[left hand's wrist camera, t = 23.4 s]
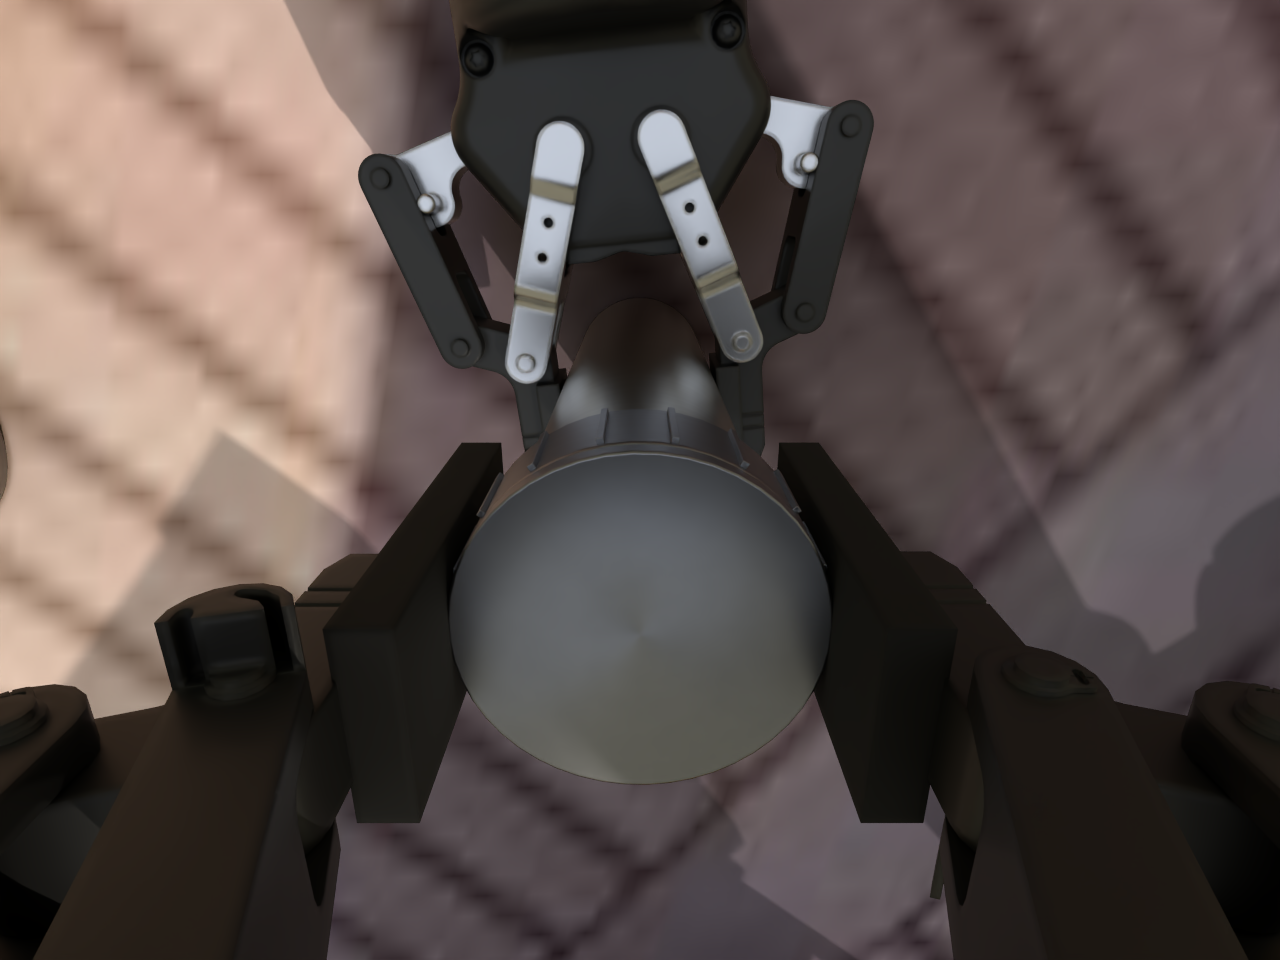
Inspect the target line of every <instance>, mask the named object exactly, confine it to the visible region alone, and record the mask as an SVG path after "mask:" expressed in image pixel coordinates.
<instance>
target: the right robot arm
mask: <svg viewBox="0 0 1280 960" xmlns="http://www.w3.org/2000/svg"><path fill="white" fill-rule="evenodd" d="M449 4H450V10H451V16H452V22H453V28H454V34H455V40H456V47H457V53H458V59H459V65H460V88H459V94H458V99H457V103H456V106H455V109H454V111H453V115H452V119H451V132H448V133H446V134H444V135H441V136H439V137H437V138H435V139H432V140H430V141H428V142H425V143H423V144H421V145H419V146H416V147H414V148H412V149H409V150H407V151H405V152H403V153H400V154H398V155H390V154H373V155H370V156H368V157H367V158H365V159H364V160H363V162H362V163H361V165H360V167H359V171H358V179H359V184H360V186H361V188H362V191H363V193H364V195H365V197H366V199H367V201H368V203H369V205H370V207H371V209H372V211H373V213H374V216H375V218H376V220H377V222H378V224H379V226H380V228H381V230H382V232H383V234H384V236H385V238H386V240H387V243H388V245H389V247H390V249H391V251H392V253H393V255H394V257H395V259H396V261H397V263H398V265H399V268H400V270H401V272H402V274H403V276H404V278H405V280H406V282H407V284H408V286H409V288H410V290H411V293H412V295H413V297H414V299H415V301H416V303H417V305H418V307H419V309H420V311H421V313H422V315H423V318H424V320H425V322H426V324H427V326H428V328H429V330H430V332H431V334H432V336H433V338H434V340H435V343H436V345H437V347H438V349H439V351H440V353H441V355H442V357H443V358H444V360H445V361H446V362H447V363H448V364H450V365H451V366H453V367H455V368H460V369H465V368H469V367H472V366H474V367H478V368H482V369H486V370H490V371H494V372H497V373H499V374H501V375H503V376H504V377H505V378H507V379H508V380H509V382H510V383H511V384H512V386H513V388H514V391H515V395H516V401H517V407H518V413H519V419H520V426H521V432H522V436H523V444H524V448H525V452H526V451H527V450H528V449H529V448H530V447H531V446H533V445H534V444H536V443H537V442H538V439H539V437H540V435H541V433H543V432H545V429H546V427H547V424H548V422H549V420H550V417H551V415H552V413H553V410H554V408H555V405H556V403H557V401H558V398H559V396H560V393H561V391H562V389H563V386H564V384H565V382H566V379H567V372H566V368H562V369H559V368H558V360H557V353H556V347H557V342H558V337H559V331H560V326H561V321H562V316H563V310H564V305H565V300H566V296H567V293H568V289H569V284H570V279H571V274H572V269H573V264H578V263H587V262H596V261H598V260H601V259H603V258H606V257H608V256H611V255H614V254H616V253H619V252H621V251H628V252H634V253H639V254H645V255H651V256H655V255H665V254H674V253H680V255H681V258H682V260H683V263H684V265H685V268H686V270H687V272H688V275H689V277H690V279H691V282H692V284H693V286H694V288H695V291H696V293H697V296H698V298H699V300H700V303H701V305H702V308H703V310H704V313H705V315H706V317H707V320H708V322H709V325H710V327H711V330H712V332H713V334H714V337H715V351H716V353H709V363H710V371H711V374H712V376H713V378H714V381H715V383H716V386H717V388H718V390H719V393H720V395H721V397H722V400H723V402H724V404H725V407H726V409H727V412H728V414H729V416H730V419H731V421H732V423H733V426H734V428H735V430H736V433H737V435H738V437H739V439H740V440H741V441H743V442H744V443H745V444H746V445H748V446H749V447H750V448H751V449H753V450H754V451H755V452H756V453H758V454H759V456H760V457H761V454H762V451H763V448H764V446H765V435H764V415H763V412H764V411H763V387H762V363H763V360H764V357H765V355H766V353H767V352H768V351H769V350H770V349H771V348H772V347H773V346H774V345H776V344H777V343H779V342H781V341H784V340H786V339H788V338H790V337H792V336H794V335H796V334H798V333H800V334H806V333H810V332H813V331H815V330H816V329H817V328H819V327H820V326H821V324H822V323H823V321H824V319H825V316H826V312H827V308H828V305H829V301H830V297H831V293H832V289H833V285H834V281H835V277H836V273H837V269H838V265H839V261H840V257H841V253H842V250H843V246H844V242H845V238H846V234H847V230H848V226H849V222H850V218H851V214H852V210H853V206H854V202H855V199H856V195H857V191H858V187H859V183H860V179H861V175H862V171H863V167H864V163H865V159H866V155H867V151H868V147H869V144H870V140H871V136H872V132H873V127H874V120H873V115H872V113H871V111H870V109H869V108H868V107H867V106H866V105H865V104H864V103H862V102H860V101H857V100H848V101H845V102H842V103H840V104H838V105H836V106H834V107H826V106H821V105H816V104H810V103H805V102H800V101H795V100H789V99H784V98H779V97H774V96H770V91H769V87H768V84H767V82H766V80H765V78H764V76H763V75H762V73H761V71H760V70H759V68H758V66H757V64H756V62H755V59H754V57H753V54H752V50H751V47H750V42H749V36H748V23H747V0H449ZM761 137H762V138H764V139H766V140H768V141H769V142H770V143H771V144H772V146H773V147H774V149H775V152H776V158H777V160H776V172H777V176H778V178H779V180H780V181H781V182H782V183H783V184H784V185H785V186H787V187H789V188H793V189H794V192H793V196H792V201H791V205H790V209H789V214H788V218H787V223H786V227H785V232H784V236H783V240H782V245H781V249H780V254H779V258H778V263H777V267H776V271H775V276H774V280H773V285H772V289H771V292H769V293H767V294H765V295H763V296H760V297H758V298H756V299H754V300H752V301H749V299H748V296H747V294H746V291H745V288H744V286H743V283H742V281H741V278H740V274H739V270H738V266H737V264H736V261H735V258H734V256H733V253H732V251H731V248H730V245H729V243H728V240H727V238H726V235H725V232H724V230H723V227H722V225H721V222H720V220H719V217H718V214H717V212H718V210H719V208H720V207H721V205H722V203H723V201H724V200H725V198H726V196H727V195H728V193H729V191H730V189H731V188H732V186H733V184H734V182H735V181H736V179H737V177H738V176H739V174H740V172H741V170H742V169H743V167H744V165H745V164H746V162H747V160H748V158H749V157H750V155H751V153H752V152H753V150H754V148H755V146H756V145H757V143H758V141H759V140H760V138H761ZM467 170H470V172H471V173H472V174H473V175H474V176H475V177H476V178H477V179H478V180H479V182H480V183H481V184H482V185H483V186H484V187H485V188H486V189H487V191H488V192H489V193H490V194H491V195H492V196H493V197H494V198H495V199H496V201H497V202H498V203H499V204H500V205H501V206H502V207H503V208H504V210H505V211H506V212H507V213H508V214H509V215H510V216H511V217H512V218H513V220H514V221H515V222H516V223H517V224H518V225H519V226H520V227H521V229H522V230H523V237H522V243H521V249H520V255H519V261H518V267H517V273H516V280H515V286H514V308H513V314H512V320H511V325H510V324H506V323H502V322H498V321H495V320H492V318H491V316H490V313H489V311H488V309H487V307H486V304H485V302H484V300H483V298H482V295H481V293H480V291H479V289H478V287H477V284H476V282H475V280H474V278H473V275H472V273H471V271H470V269H469V266H468V264H467V262H466V260H465V258H464V255H463V253H462V251H461V249H460V246H459V244H458V242H457V240H456V237H455V235H454V233H453V231H452V228H451V226H450V225H451V224H453V223H454V222H456V221H457V219H458V218H459V217H460V215H461V212H462V200H461V196H460V192H459V184H460V180H461V178H462V176H463V175H464V173H465V172H466V171H467ZM7 467H8V466H7V454H6V448H5V444H4V440H3V437H2V433H1V431H0V500H1V498H2V495H3V492H4V489H5V486H6V480H7Z"/></svg>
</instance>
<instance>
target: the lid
mask: <svg viewBox="0 0 1280 960" xmlns="http://www.w3.org/2000/svg"><path fill="white" fill-rule="evenodd" d="M800 512H801V509H800V507H799V505H798V504H797V502H796V500H795V498H794V496H793V494H792V492H791V490H790V488H789V486H788V485H787V483H786V481H785V479H784V477H783V475H782V473H781V472H780V471H779V469H777V470H776V471H773V470H772V468H771V467H770V466H769V465H768V464H767V463H766V462H765V461H764V460H763V459H762V458H761V457H760V456H759V454H758V453H756V452H755V451H754V450H753V449H751V448H750V447H749V446H748V445H746V444H745V443H744V442H743V441H741V440H740V439H739V437H738V435H737V433H736V431H734V430H733V429H731V428H730V430H729V431H728V432H727V431H725V430H724V429H722V428H719V427H717V426H715V425H713V424H710V423H708V422H706V421H704V420H701V419H698V418H694V417H691V416H687V415H684V414H681V413H676V412H675V408H672V407H668V409H667V411H662V410H650V409H629V410H619V411H610V412H609V410H608V408H603V409H601V413H600V414H597V415H593V416H589V417H586V418H583V419H580V420H578V421H575V422H572V423H570V424H567V425H565V426H563V427H561V428H560V429H558V430H556V431H554V432H552V433H550V434H548V432H547V431H545V432H543V433H541V435H540V437H539V439H538V442H537V443H536V444H534V445H533V446H531V447H530V448H529V449H528V450H527V451H526V452H525V453H524V454H523V455H521V456H520V457H519V458H518V459H517V460H516V461H515V462H514V463H513V465H512V466H511V467H510V468H509V470H508V471H507V472H506V473H505V475H504V474H502V473H499V474H498V475H497V477H496V479H495V481H494V483H493V484H492V486H491V488H490V490H489V492H488V494H487V496H486V498H485V500H484V502H483V503H482V505H481V507H480V509H479V511H478V513H477V516H478V517H480V519H479V521H478V523H477V525H475V527H474V529H473V531H472V533H471V535H470V537H469V539H468V541H467V543H466V544H465V546H464V548H463V550H462V552H461V554H460V556H459V558H458V560H457V562H456V564H455V566H454V568H453V574H454V576H453V580H452V584H451V588H450V593H449V601H448V622H449V632H450V641H451V649H452V654H453V659H454V662H455V665H456V667H457V670H458V672H459V675H460V678H461V680H462V682H463V684H464V686H465V688H466V689H467V691H468V693H469V695H470V697H471V698H472V700H473V701H474V703H475V704H476V705H477V707H478V708H479V709H480V711H481V712H482V713H483V715H484V716H485V717H486V718H487V719H488V721H489V722H490V723H491V724H492V725H493V726H494V727H495V728H496V729H497V730H498V731H499V732H500V733H501V734H502V735H504V736H505V737H506V738H507V739H509V740H510V741H511V742H512V743H514V744H515V745H516V746H517V747H519V748H520V749H522V750H524V751H525V752H527V753H528V754H530V755H532V756H533V757H535V758H536V759H538V760H541V761H543V762H545V763H547V764H549V765H551V766H553V767H555V768H557V769H560V770H563V771H566V772H569V773H572V774H574V775H577V776H581V777H585V778H589V779H594V780H598V781H603V782H611V783H619V784H640V785H649V784H661V783H671V782H677V781H682V780H687V779H692V778H696V777H699V776H703V775H706V774H709V773H713V772H715V771H718V770H720V769H723V768H725V767H727V766H730V765H732V764H735V763H736V762H738V761H740V760H742V759H744V758H745V757H747V756H749V755H751V754H753V753H754V752H756V751H757V750H759V749H760V748H761V747H763V746H764V745H765V744H767V743H768V742H770V741H771V740H772V739H774V738H775V737H776V736H777V735H778V734H779V733H780V732H781V731H782V730H783V729H784V728H785V727H787V726H788V725H789V724H790V722H791V721H792V720H793V719H794V718H795V716H796V715H797V714H798V713H799V712H800V711H801V709H802V708H803V707H804V705H805V704H806V702H807V700H808V699H809V697H810V696H811V694H812V693H813V691H814V690H815V687H816V685H817V683H818V681H819V679H820V677H821V674H822V672H823V670H824V667H825V663H826V660H827V657H828V653H829V645H830V636H831V627H832V617H833V602H832V596H831V590H830V584H829V580H828V577H827V574H826V571H827V569H828V568H827V564H826V562H825V560H824V558H823V556H822V554H821V553H820V551H819V549H818V547H817V545H816V543H815V541H814V539H813V537H812V535H811V533H810V531H809V529H808V527H807V526H806V524H805V522H804V521H803V522H802V520H801V518H800V516H799V513H800Z"/></svg>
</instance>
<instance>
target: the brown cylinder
mask: <svg viewBox="0 0 1280 960" xmlns="http://www.w3.org/2000/svg"><path fill="white" fill-rule="evenodd" d="M668 407H672V408H675V412H676V413H681V414H684V415H687V416H691V417H694V418H698V419H701V420H704V421H706V422H708V423H710V424H713V425H715V426H717V427H719V428H722V429H724V430H725V431H727V432H728V431H729V430H730V428H731V429H733V430H734V431H736V430H735V428H734V426H733V423H732V421H731V419H730V416H729V414H728V412H727V409H726V407H725V404H724V402H723V400H722V397H721V395H720V393H719V390H718V388H717V386H716V383H715V381H714V378H713V376H712V374H711V371H710V369H709V367H708V364H707V362H706V359H705V357H704V355H703V352H702V350H701V348H700V345H699V343H698V341H697V338H696V336H695V333H694V331H693V330H692V328H691V326H690V324H689V323H688V322H687V320H686V319H685V318H684V317H683V316H682V315H681V314H680V313H679V312H678V311H677V310H675V309H674V308H672V307H671V306H669V305H667V304H665V303H663V302H661V301H657V300H654V299H648V298H632V299H627V300H623V301H620V302H617V303H615V304H613V305H611V306H609V307H608V308H606V309H605V310H604V311H602V312H601V313H600V314H599V315H598V316H597V317H596V318H595V319H594V321H593V322H592V323H591V324H590V326H589V328H588V330H587V332H586V334H585V336H584V339H583V341H582V343H581V346H580V348H579V351H578V353H577V355H576V358H575V360H574V363H573V365H572V367H571V370H570V372H569V374H568V377H567V379H566V382H565V384H564V386H563V389H562V391H561V393H560V396H559V398H558V401H557V403H556V405H555V408H554V410H553V413H552V415H551V417H550V420H549V422H548V424H547V427H546V429H545V431H547V432H548V434H550V433H552V432H554V431H556V430H558V429H560V428H561V427H563V426H565V425H567V424H570V423H572V422H575V421H578V420H580V419H583V418H586V417H589V416H593V415H597V414H600V413H601V409H603V408H608V410H609V412H610V411H619V410H629V409H650V410H662V411H667V409H668Z"/></svg>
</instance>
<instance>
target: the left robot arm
mask: <svg viewBox="0 0 1280 960" xmlns="http://www.w3.org/2000/svg"><path fill="white" fill-rule="evenodd" d="M777 469H779V471H780V472H781V473H782V475H783V477H784V479H785V481H786V483H787V485H788V486H789V488H790V490H791V492H792V494H793V496H794V498H795V500H796V502H797V504H798V505H799V507H800V509H801V512H800V513H799V516H800V518H801V520H802V522H803V521H804V522H805V524H806V526H807V527H808V529H809V531H810V533H811V535H812V537H813V539H814V541H815V543H816V545H817V547H818V549H819V551H820V553H821V554H822V556H823V558H824V560H825V562H826V564H827V568H828V569H827V571H826V574H827V577H828V580H829V584H830V590H831V596H832V602H833V617H832V627H831V636H830V645H829V653H828V657H827V660H826V663H825V667H824V670H823V672H822V674H821V677H820V679H819V681H818V683H817V685H816V687H815V690H814V693H815V696H816V699H817V701H818V704H819V707H820V710H821V713H822V715H823V718H824V721H825V724H826V727H827V729H828V732H829V735H830V738H831V741H832V743H833V746H834V749H835V752H836V755H837V758H838V760H839V763H840V766H841V769H842V772H843V774H844V777H845V780H846V783H847V786H848V788H849V791H850V794H851V797H852V800H853V802H854V805H855V808H856V811H857V814H858V816H859V819H860V822H861V823H923V822H924V816H925V810H926V805H927V799H928V794H929V788H930V785H931V787H932V789H933V791H934V793H935V795H936V797H937V799H938V801H939V803H940V805H941V807H942V809H943V811H944V813H945V818H944V824H943V829H942V834H941V839H940V844H939V850H938V855H937V860H936V865H935V870H934V875H933V881H932V887H931V894H930V897H931V898H935V899H940V897H941V892H942V887H943V884H944V888H945V896H946V903H947V911H948V919H949V927H950V934H951V942H952V950H953V958H954V960H1280V690H1279V689H1276V688H1273V689H1270V687H1268V686H1264V685H1259V684H1253V683H1252V684H1248V683H1240V682H1232V681H1223V682H1215V683H1207V684H1205V685H1204V686H1202V687H1201V688H1200V689H1198V690H1197V691H1195V694H1194V697H1193V700H1192V704H1191V707H1190V710H1189V713H1188V716H1185V715H1180V714H1174V713H1169V712H1164V711H1159V710H1153V709H1148V708H1143V707H1138V706H1132V705H1127V704H1123V703H1119V702H1115V701H1114V700H1113V698H1112V696H1111V694H1110V692H1109V690H1108V689H1107V688H1106V686H1105V685H1104V684H1103V683H1102V682H1101V680H1100V679H1099V678H1098V677H1097V676H1096V675H1095V674H1094V673H1092V672H1091V671H1089V670H1088V669H1086V668H1085V667H1083V666H1082V665H1080V664H1079V663H1077V662H1076V661H1073V660H1071V659H1069V658H1066V657H1064V656H1061V655H1059V654H1056V653H1054V652H1052V651H1047V650H1043V649H1039V648H1034V647H1030V646H1026V645H1025V644H1024V643H1023V642H1022V641H1021V640H1020V638H1019V637H1018V636H1017V635H1016V634H1015V633H1014V632H1013V630H1012V629H1011V628H1010V627H1009V626H1008V625H1007V624H1006V622H1005V621H1004V620H1003V619H1002V618H1001V617H1000V616H999V614H998V613H997V612H996V611H995V610H994V609H993V608H992V606H991V605H990V604H986V600H985V598H984V597H983V596H982V595H981V594H980V593H979V592H978V590H977V589H973V585H972V584H971V582H970V581H969V580H968V579H967V578H966V577H965V576H964V574H963V573H962V572H961V571H960V570H959V569H958V568H957V567H956V566H954V565H953V564H951V563H949V562H947V561H946V560H944V559H942V558H940V557H939V556H937V555H935V554H934V553H932V552H900V551H899V549H898V548H897V547H896V545H895V544H894V543H893V541H892V540H891V539H890V537H889V536H888V535H887V533H886V532H885V531H884V529H883V528H882V527H881V525H880V524H879V523H878V521H877V520H876V519H875V517H874V516H873V515H872V513H871V512H870V511H869V509H868V508H867V507H866V505H865V504H864V503H863V501H862V500H861V499H860V497H859V496H858V495H857V493H856V492H855V491H854V489H853V488H852V487H851V485H850V484H849V483H848V481H847V480H846V479H845V477H844V476H843V475H842V473H841V472H840V471H839V469H838V468H837V467H836V465H835V464H834V463H833V461H832V460H831V459H830V457H829V456H828V455H827V453H826V452H825V451H824V449H823V448H822V447H821V445H820V444H819V443H779V454H778V468H777ZM499 473H502V474H503V462H502V448H501V443H461V445H460V446H459V447H458V449H457V450H456V451H455V453H454V454H453V455H452V457H451V458H450V459H449V461H448V462H447V463H446V465H445V466H444V467H443V469H442V470H441V471H440V473H439V474H438V475H437V477H436V478H435V479H434V481H433V482H432V483H431V485H430V486H429V487H428V489H427V490H426V491H425V493H424V494H423V495H422V497H421V498H420V499H419V501H418V502H417V503H416V505H415V506H414V507H413V509H412V510H411V511H410V513H409V514H408V515H407V517H406V518H405V519H404V521H403V522H402V523H401V525H400V526H399V527H398V529H397V530H396V531H395V533H394V534H393V535H392V537H391V538H390V539H389V541H388V542H387V543H386V545H385V546H384V547H383V549H382V550H381V551H380V553H379V554H350V555H348V556H346V557H345V558H343V559H341V560H339V561H338V562H336V563H334V564H333V565H331V566H329V567H327V568H326V569H324V570H323V571H322V572H321V573H320V575H319V576H318V577H317V578H316V579H315V580H314V581H313V583H312V584H311V585H310V586H309V587H308V591H305V592H304V593H303V594H302V595H301V596H300V598H299V599H298V600H297V601H296V602H295V606H294V601H293V596H292V594H291V593H289V592H288V591H287V590H285V589H284V588H282V587H279V586H274V585H269V584H263V583H262V584H239V585H234V586H228V587H223V588H218V589H213V590H211V591H208V592H205V593H202V594H199V595H196V596H193V597H191V598H188V599H186V600H184V601H183V602H181V603H179V604H177V605H175V606H174V607H172V608H170V609H168V610H167V611H166V612H165V613H164V614H163V615H162V616H161V617H160V618H159V619H158V620H157V621H156V622H155V623H154V625H155V628H156V632H157V636H158V639H159V643H160V646H161V650H162V654H163V657H164V661H165V665H166V668H167V672H168V676H169V679H170V683H171V687H172V692H171V694H170V696H169V698H168V699H167V701H166V703H165V705H163V706H159V707H155V708H150V709H144V710H139V711H134V712H129V713H124V714H118V715H113V716H108V717H103V718H98V719H94V717H93V714H92V711H91V708H90V705H89V702H88V699H87V695H86V694H85V693H83V692H82V691H80V690H79V689H77V688H76V687H73V686H64V685H56V684H53V685H45V686H36V687H25V688H20V689H15V690H13V691H12V692H10V693H9V691H8V692H5V693H1V694H0V960H327V952H328V944H329V936H330V929H331V921H332V913H333V905H334V898H335V890H336V882H337V874H338V867H339V859H340V851H341V848H340V841H339V834H338V829H337V824H336V816H337V814H338V812H339V810H340V808H341V806H342V804H343V802H344V800H345V798H346V796H347V794H348V792H349V790H350V788H351V791H352V797H353V802H354V808H355V813H356V819H357V823H420V821H421V818H422V815H423V812H424V809H425V806H426V804H427V801H428V798H429V795H430V792H431V790H432V787H433V784H434V781H435V778H436V776H437V773H438V770H439V767H440V764H441V762H442V759H443V756H444V753H445V750H446V748H447V745H448V742H449V739H450V736H451V734H452V731H453V728H454V725H455V722H456V719H457V717H458V714H459V711H460V708H461V705H462V703H463V700H464V697H465V694H466V691H467V689H466V688H465V686H464V684H463V682H462V680H461V678H460V675H459V672H458V670H457V667H456V665H455V662H454V659H453V654H452V649H451V641H450V632H449V622H448V601H449V593H450V588H451V584H452V580H453V576H454V574H453V568H454V566H455V564H456V562H457V560H458V558H459V556H460V554H461V552H462V550H463V548H464V546H465V544H466V543H467V541H468V539H469V537H470V535H471V533H472V531H473V529H474V527H475V525H477V523H478V521H479V519H480V517H478V516H477V513H478V511H479V509H480V507H481V505H482V503H483V502H484V500H485V498H486V496H487V494H488V492H489V490H490V488H491V486H492V484H493V483H494V481H495V479H496V477H497V475H498V474H499Z"/></svg>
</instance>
